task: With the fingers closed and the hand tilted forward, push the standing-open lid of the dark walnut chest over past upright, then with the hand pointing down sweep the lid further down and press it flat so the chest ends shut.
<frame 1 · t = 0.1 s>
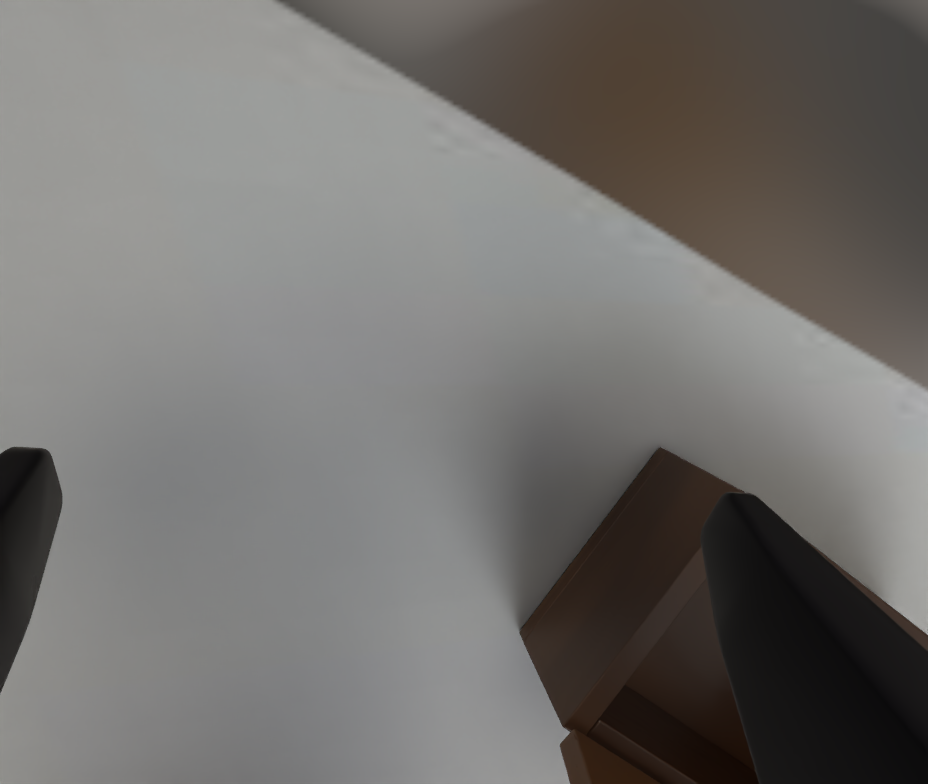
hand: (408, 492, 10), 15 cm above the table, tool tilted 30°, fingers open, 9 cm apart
chest: (711, 627, 28), on the table
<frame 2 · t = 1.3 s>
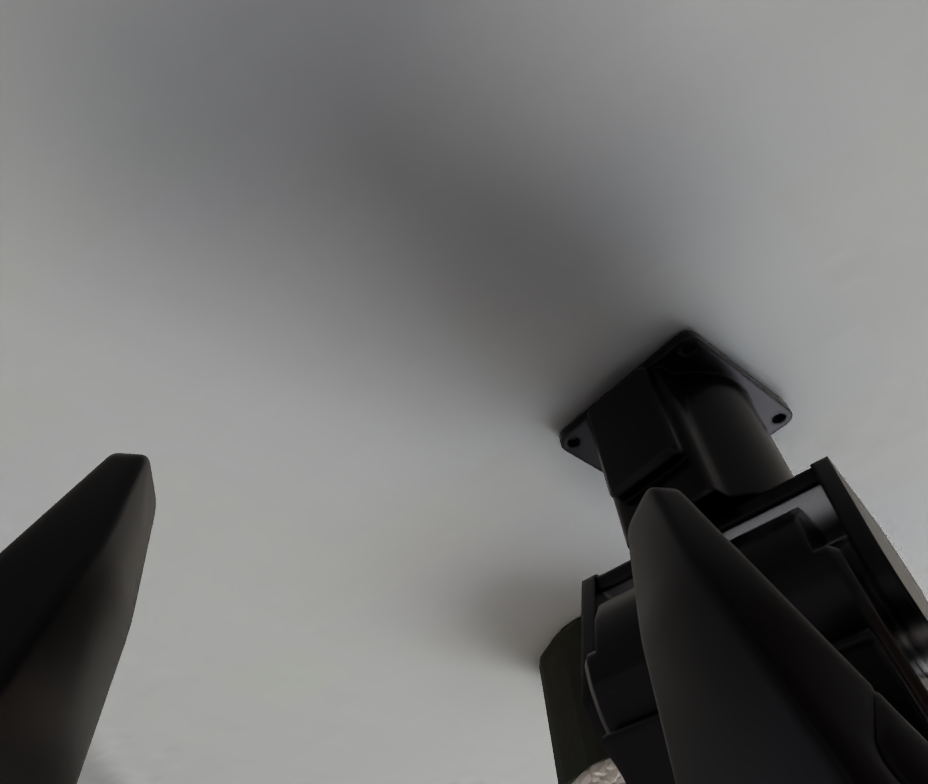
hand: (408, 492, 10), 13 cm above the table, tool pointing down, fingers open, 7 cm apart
sushi: (613, 646, 39), on the table
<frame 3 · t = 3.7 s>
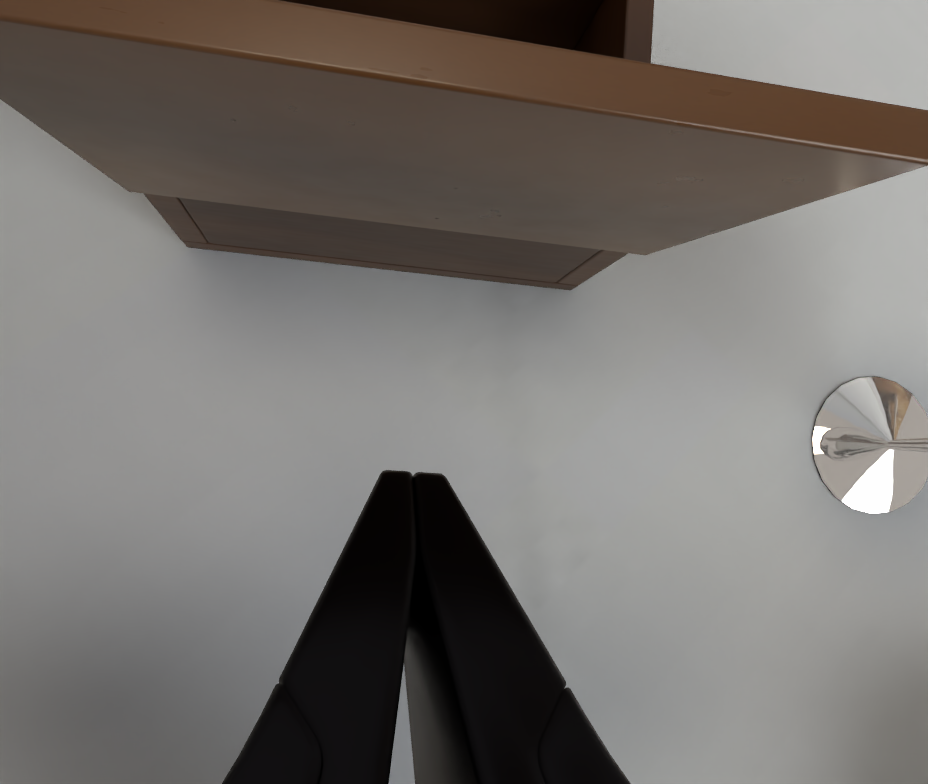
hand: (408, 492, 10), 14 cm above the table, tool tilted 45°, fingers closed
lid: (423, 162, 13), point 11 cm above the table, hinge at 97.0°
wineglass: (870, 444, 26), on the table
chest: (397, 143, 24), on the table
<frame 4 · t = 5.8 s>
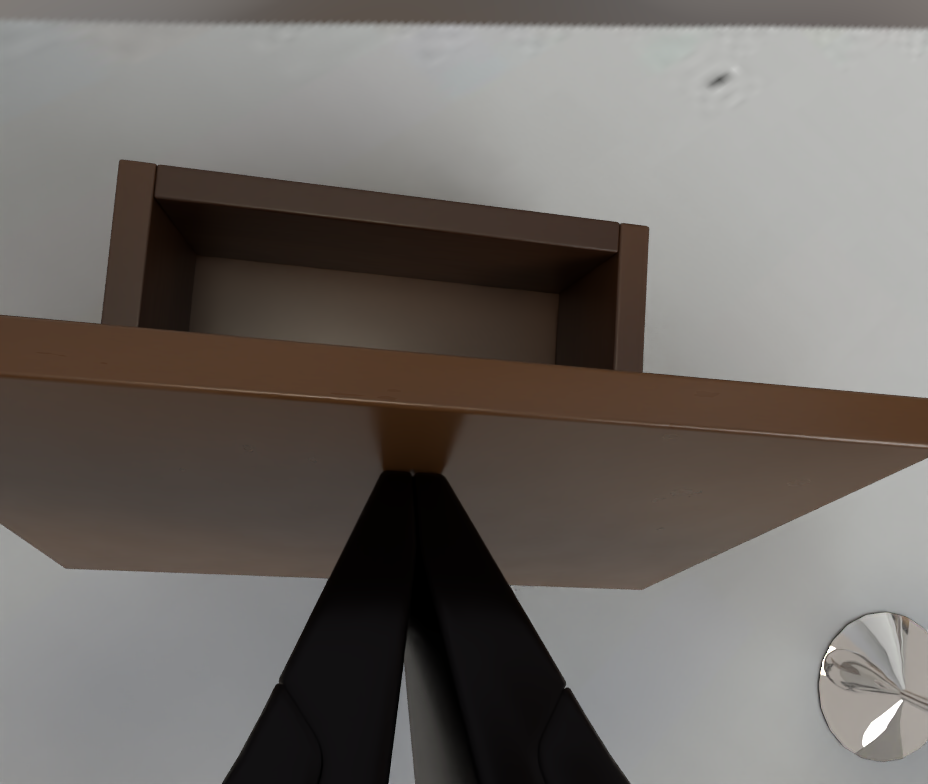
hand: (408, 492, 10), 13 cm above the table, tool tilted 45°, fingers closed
lid: (393, 503, 12), point 10 cm above the table, hinge at 68.5°, touching gripper
wineglass: (880, 684, 25), on the table
chest: (375, 391, 22), on the table
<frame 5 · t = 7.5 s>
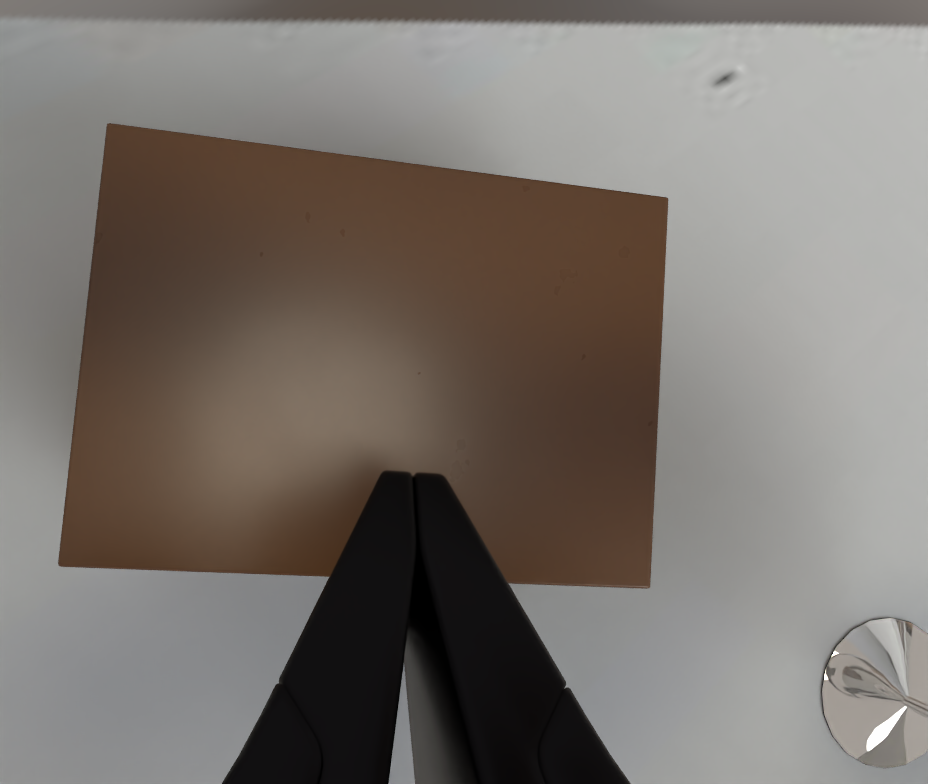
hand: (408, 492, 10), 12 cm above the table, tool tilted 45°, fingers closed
lid: (389, 367, 16), point 6 cm above the table, hinge at -0.3°
wineglass: (883, 690, 25), on the table
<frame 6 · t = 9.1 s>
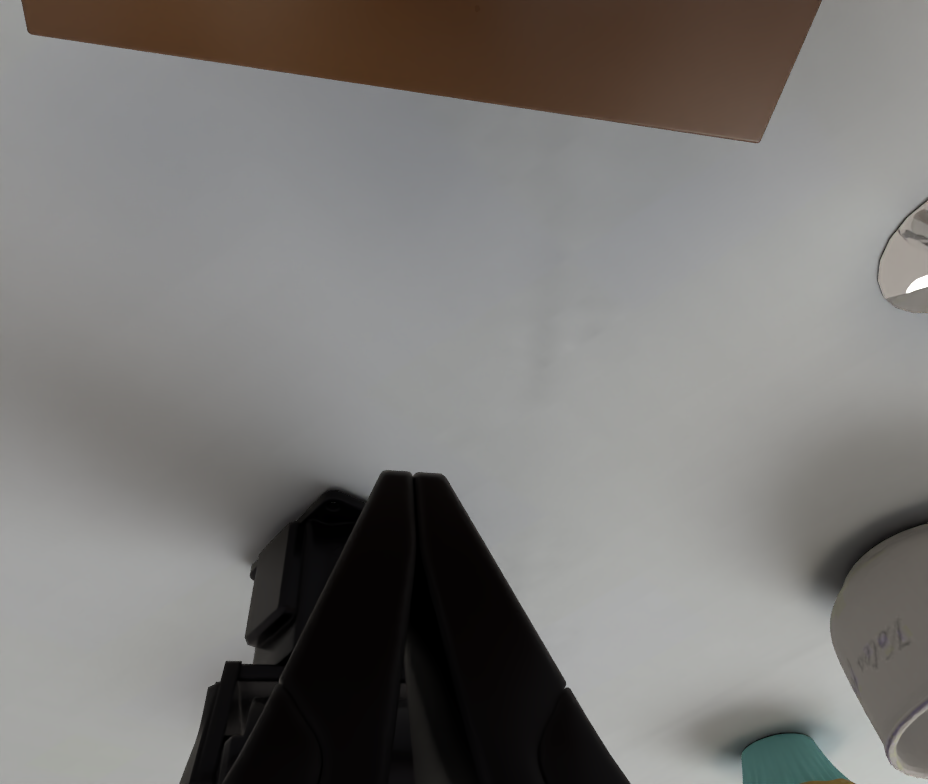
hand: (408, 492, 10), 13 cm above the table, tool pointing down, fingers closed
cupcake: (773, 745, 48), on the table
teacup: (916, 573, 36), on the table
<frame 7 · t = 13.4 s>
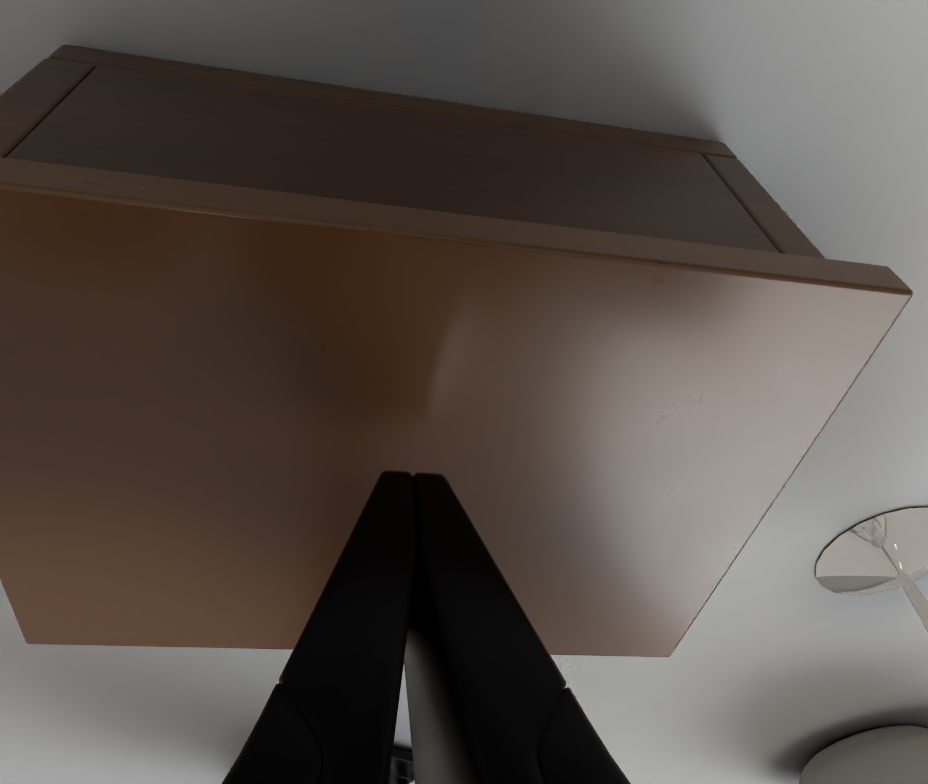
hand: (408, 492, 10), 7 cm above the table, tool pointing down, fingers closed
lid: (396, 481, 11), point 6 cm above the table, hinge at -0.3°
wineglass: (885, 549, 25), on the table
teacup: (872, 757, 38), on the table
chest: (394, 287, 16), on the table
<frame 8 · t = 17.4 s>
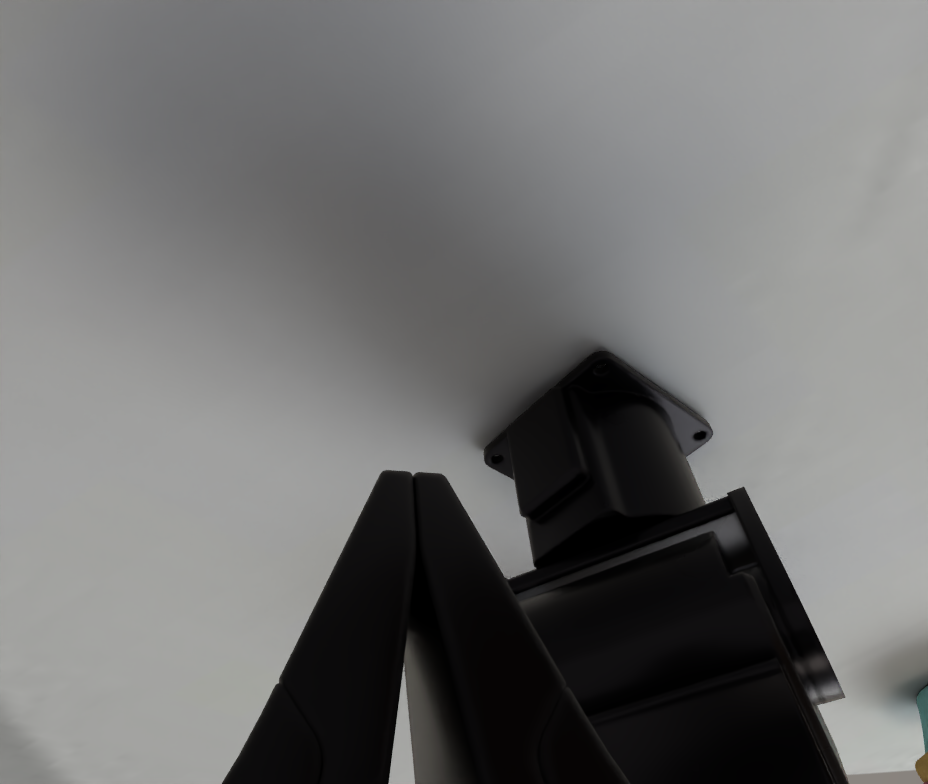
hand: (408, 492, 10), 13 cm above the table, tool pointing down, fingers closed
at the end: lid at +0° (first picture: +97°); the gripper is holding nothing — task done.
